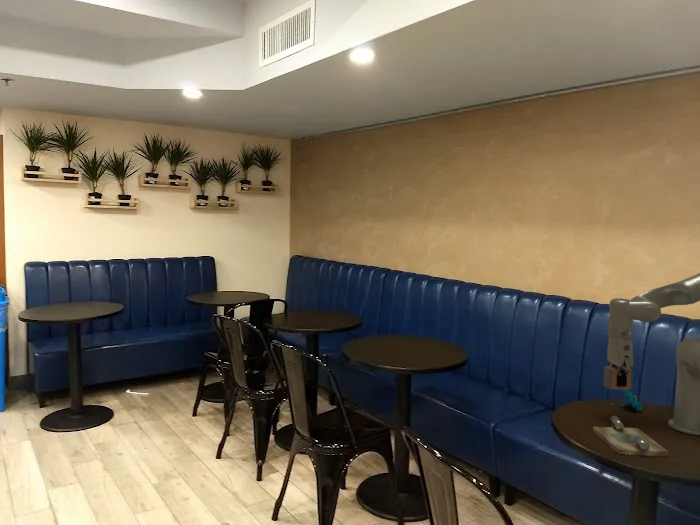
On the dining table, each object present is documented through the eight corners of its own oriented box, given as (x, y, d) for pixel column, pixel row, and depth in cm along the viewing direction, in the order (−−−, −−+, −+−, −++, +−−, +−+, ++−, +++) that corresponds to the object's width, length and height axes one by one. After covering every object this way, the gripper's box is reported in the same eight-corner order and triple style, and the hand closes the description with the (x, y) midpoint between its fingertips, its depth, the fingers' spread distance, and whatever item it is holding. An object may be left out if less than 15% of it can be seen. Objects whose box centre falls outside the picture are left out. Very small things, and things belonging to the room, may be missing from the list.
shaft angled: (616, 425, 179) (617, 415, 179) (624, 431, 174) (625, 421, 173) (609, 425, 179) (610, 414, 179) (617, 431, 174) (618, 420, 173)
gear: (640, 411, 193) (621, 387, 198) (627, 419, 196) (608, 396, 201) (647, 407, 202) (629, 385, 207) (634, 415, 204) (617, 393, 209)
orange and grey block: (625, 385, 188) (626, 366, 187) (632, 389, 183) (633, 370, 183) (603, 385, 188) (604, 366, 187) (609, 389, 184) (610, 369, 183)
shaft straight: (640, 443, 164) (641, 436, 164) (649, 450, 159) (649, 443, 159) (632, 443, 164) (633, 436, 164) (641, 450, 159) (641, 442, 159)
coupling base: (637, 432, 178) (637, 423, 177) (667, 456, 160) (668, 445, 159) (592, 431, 178) (593, 421, 178) (618, 454, 160) (619, 444, 160)
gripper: (643, 339, 176) (641, 392, 177) (619, 328, 192) (617, 377, 194) (621, 338, 176) (618, 391, 177) (598, 328, 193) (596, 376, 194)
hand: (617, 383), depth 186 cm, fingers closed on orange and grey block, 4 cm apart
